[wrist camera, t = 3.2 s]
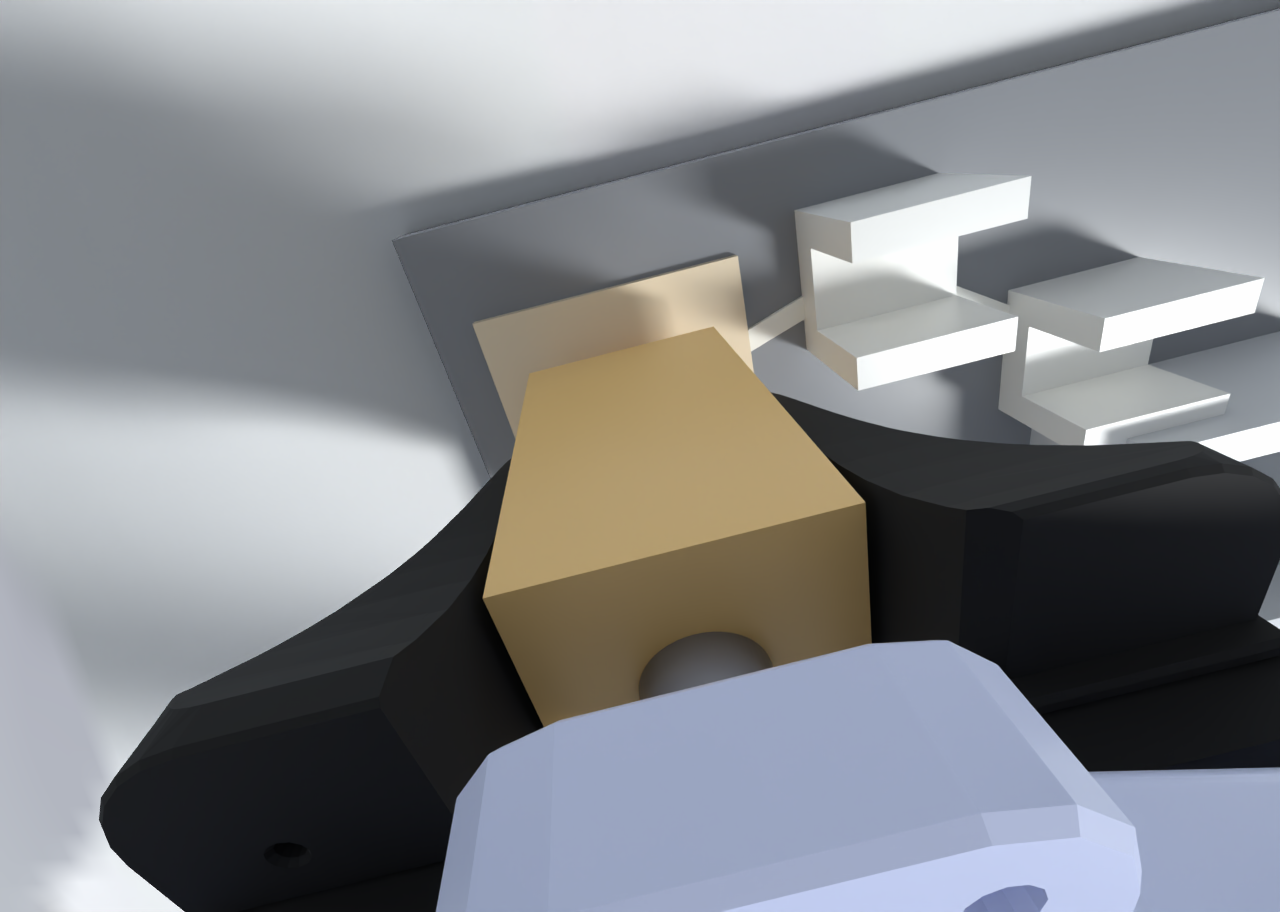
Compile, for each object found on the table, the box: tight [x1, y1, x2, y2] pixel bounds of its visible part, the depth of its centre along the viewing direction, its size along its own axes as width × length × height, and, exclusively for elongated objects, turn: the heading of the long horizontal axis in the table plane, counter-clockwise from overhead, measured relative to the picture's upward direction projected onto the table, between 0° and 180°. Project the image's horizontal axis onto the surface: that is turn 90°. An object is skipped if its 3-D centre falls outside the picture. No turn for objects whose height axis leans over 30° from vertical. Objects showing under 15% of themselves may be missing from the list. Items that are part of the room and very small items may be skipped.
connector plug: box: [483, 326, 872, 727], centre depth 9 cm, size 4×4×8 cm
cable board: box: [392, 8, 1280, 629], centre depth 14 cm, size 16×22×4 cm
